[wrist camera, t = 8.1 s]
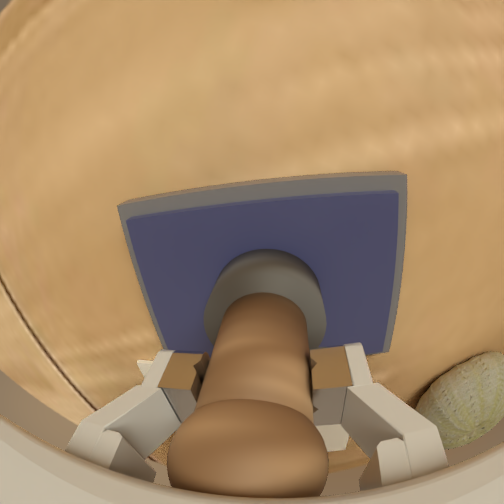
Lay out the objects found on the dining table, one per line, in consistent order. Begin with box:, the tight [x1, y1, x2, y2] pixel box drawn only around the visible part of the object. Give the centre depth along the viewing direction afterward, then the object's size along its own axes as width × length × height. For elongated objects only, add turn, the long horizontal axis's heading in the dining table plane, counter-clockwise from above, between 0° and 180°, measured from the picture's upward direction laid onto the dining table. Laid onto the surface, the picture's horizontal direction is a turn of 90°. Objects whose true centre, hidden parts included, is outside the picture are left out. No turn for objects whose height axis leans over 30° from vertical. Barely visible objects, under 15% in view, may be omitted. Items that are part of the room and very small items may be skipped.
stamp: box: [167, 249, 329, 498], centre depth 7 cm, size 4×4×9 cm
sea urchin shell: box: [414, 351, 504, 449], centre depth 14 cm, size 9×8×8 cm
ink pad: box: [117, 171, 407, 358], centre depth 12 cm, size 12×9×2 cm
